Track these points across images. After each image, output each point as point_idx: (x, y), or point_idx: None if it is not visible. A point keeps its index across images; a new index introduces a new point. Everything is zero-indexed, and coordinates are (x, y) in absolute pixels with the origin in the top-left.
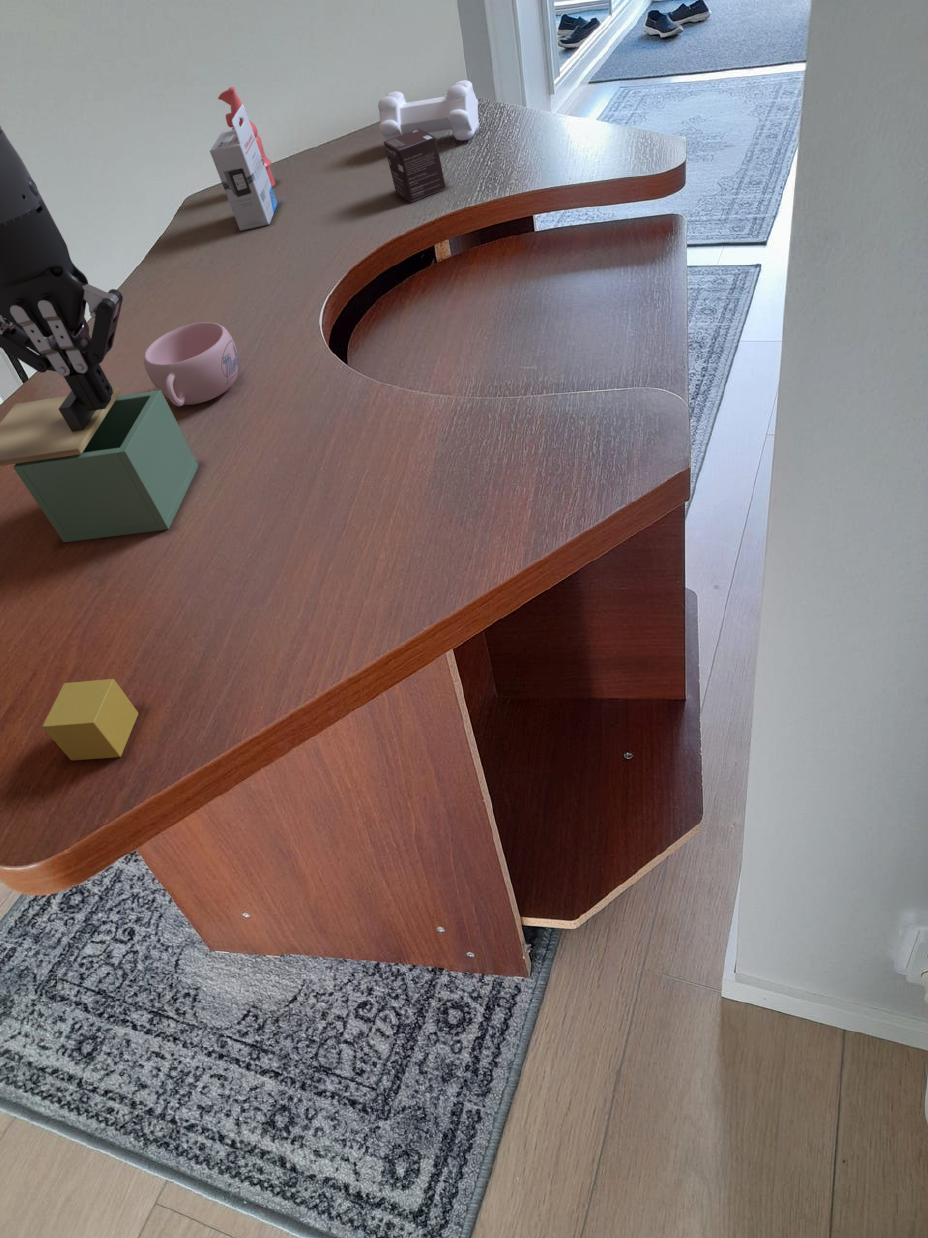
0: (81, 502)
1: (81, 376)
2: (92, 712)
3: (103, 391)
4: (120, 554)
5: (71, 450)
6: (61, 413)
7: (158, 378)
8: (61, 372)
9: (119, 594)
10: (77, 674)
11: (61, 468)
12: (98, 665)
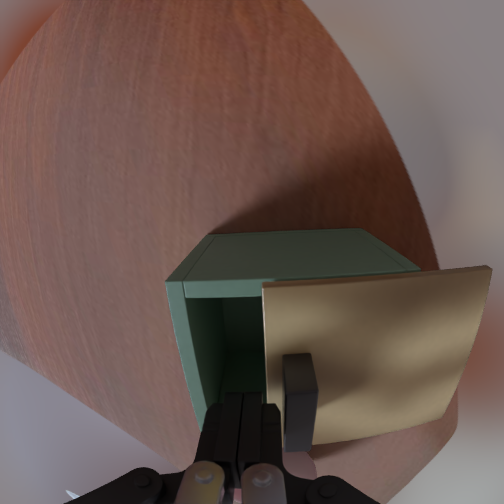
0: (312, 245)
1: (221, 455)
2: None
3: (204, 420)
4: (260, 190)
5: (279, 285)
6: (315, 382)
7: (292, 463)
8: (266, 472)
9: (225, 112)
10: (224, 7)
11: (323, 268)
12: (203, 17)
